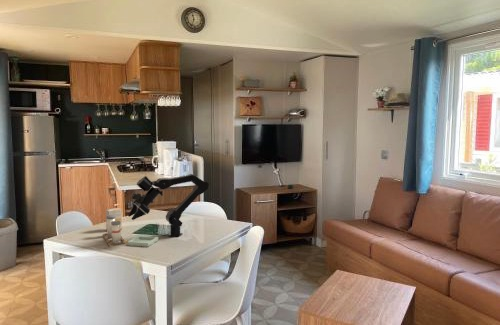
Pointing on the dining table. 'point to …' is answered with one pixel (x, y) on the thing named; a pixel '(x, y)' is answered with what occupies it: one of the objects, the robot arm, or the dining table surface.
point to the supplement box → (117, 213)
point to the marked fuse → (116, 232)
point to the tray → (143, 241)
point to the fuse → (109, 226)
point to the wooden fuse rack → (111, 240)
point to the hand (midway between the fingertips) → (130, 217)
